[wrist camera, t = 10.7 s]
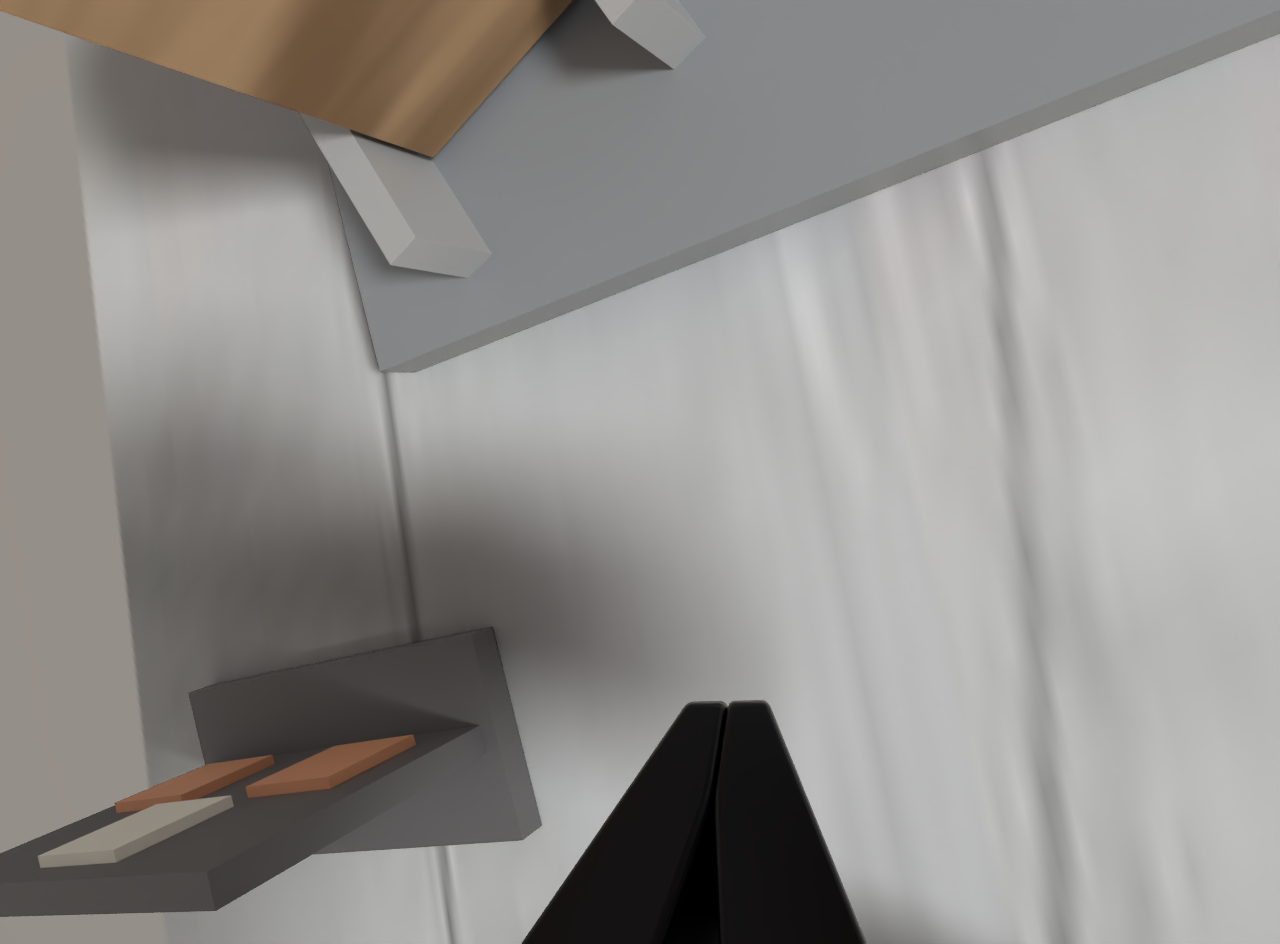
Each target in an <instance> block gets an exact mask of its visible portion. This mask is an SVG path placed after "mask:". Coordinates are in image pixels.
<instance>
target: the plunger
mask: <svg viewBox="0 0 1280 944" xmlns="http://www.w3.org/2000/svg"><path fill="white" fill-rule="evenodd" d="M572 1H573V0H0V11H2V12H5V13H8V14H11V15H14V16H17V17H20V18H23V19H25V20H28V21H31V22H34V23H37V24H40V25H43V26H46V27H49V28H52V29H55V30H58V31H61V32H64V33H67V34H70V35H73V36H76V37H79V38H82V39H84V40H87V41H90V42H93V43H96V44H99V45H102V46H105V47H108V48H111V49H114V50H117V51H120V52H123V53H126V54H129V55H132V56H135V57H138V58H141V59H144V60H147V61H149V62H152V63H155V64H158V65H161V66H164V67H167V68H170V69H173V70H176V71H179V72H182V73H185V74H188V75H191V76H194V77H197V78H200V79H203V80H206V81H209V82H212V83H214V84H217V85H220V86H223V87H226V88H229V89H232V90H235V91H238V92H241V93H244V94H247V95H250V96H253V97H256V98H259V99H262V100H265V101H268V102H271V103H274V104H276V105H279V106H282V107H285V108H288V109H291V110H294V111H297V112H300V113H303V114H306V115H309V116H312V117H315V118H318V119H321V120H324V121H327V122H330V123H333V124H336V125H339V126H341V127H344V128H347V129H350V130H353V131H356V132H359V133H362V134H365V135H368V136H371V137H374V138H377V139H380V140H383V141H386V142H389V143H392V144H395V145H398V146H401V147H403V148H406V149H409V150H412V151H415V152H418V153H421V154H424V155H427V156H430V157H434V156H435V155H436V154H437V153H438V152H439V151H440V149H441V148H442V147H443V146H444V145H445V144H446V143H447V142H448V140H449V139H450V138H451V137H452V136H453V135H454V134H455V133H456V131H457V130H458V129H459V128H460V127H461V126H462V125H463V124H464V122H465V121H466V120H467V119H468V118H469V117H470V116H471V115H472V113H473V112H474V111H475V110H476V109H477V108H478V107H479V106H480V104H481V103H482V102H483V101H484V100H485V99H486V98H487V96H488V95H489V94H490V93H491V92H492V91H493V90H494V89H495V87H496V86H497V85H498V84H499V83H500V82H501V81H502V80H503V78H504V77H505V76H506V75H507V74H508V73H509V72H510V71H511V69H512V68H513V67H514V66H515V65H516V64H517V63H518V62H519V60H520V59H521V58H522V57H523V56H524V55H525V54H526V52H527V51H528V50H529V49H530V48H531V47H532V46H533V45H534V43H535V42H536V41H537V40H538V39H539V38H540V37H541V36H542V34H543V33H544V32H545V31H546V30H547V29H548V28H549V27H550V25H551V24H552V23H553V22H554V21H555V20H556V19H557V18H558V16H559V15H560V14H561V13H562V12H563V11H564V10H565V8H566V7H567V6H568V5H569V4H570V3H571V2H572Z"/></svg>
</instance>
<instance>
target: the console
mask: <svg viewBox="0 0 1280 944" xmlns="http://www.w3.org/2000/svg"><path fill="white" fill-rule="evenodd" d="M1279 33H1280V0H573V1H572V2H571V3H570V4H569V5H568V6H567V7H566V8H565V10H564V11H563V12H562V13H561V14H560V15H559V16H558V18H557V19H556V20H555V21H554V22H553V23H552V24H551V25H550V27H549V28H548V29H547V30H546V31H545V32H544V33H543V34H542V36H541V37H540V38H539V39H538V40H537V41H536V42H535V43H534V45H533V46H532V47H531V48H530V49H529V50H528V51H527V52H526V54H525V55H524V56H523V57H522V58H521V59H520V60H519V62H518V63H517V64H516V65H515V66H514V67H513V68H512V69H511V71H510V72H509V73H508V74H507V75H506V76H505V77H504V78H503V80H502V81H501V82H500V83H499V84H498V85H497V86H496V87H495V89H494V90H493V91H492V92H491V93H490V94H489V95H488V96H487V98H486V99H485V100H484V101H483V102H482V103H481V104H480V106H479V107H478V108H477V109H476V110H475V111H474V112H473V113H472V115H471V116H470V117H469V118H468V119H467V120H466V121H465V122H464V124H463V125H462V126H461V127H460V128H459V129H458V130H457V131H456V133H455V134H454V135H453V136H452V137H451V138H450V139H449V140H448V142H447V143H446V144H445V145H444V146H443V147H442V148H441V149H440V151H439V152H438V153H437V154H436V155H435V156H434V157H430V156H427V155H424V154H421V153H418V152H415V151H412V150H409V149H406V148H403V147H401V146H398V145H395V144H392V143H389V142H386V141H383V140H380V139H377V138H374V137H371V136H368V135H365V134H362V133H359V132H356V131H353V130H350V129H347V128H344V127H341V126H339V125H336V124H333V123H330V122H327V121H324V120H321V119H318V118H315V117H312V116H309V115H306V114H303V113H300V112H298V113H299V115H300V116H301V118H302V120H303V121H304V123H305V125H306V126H307V128H308V130H309V131H310V133H311V135H312V136H313V138H314V140H315V141H316V143H317V145H318V146H319V148H320V149H321V151H322V153H323V154H324V156H325V158H326V159H327V161H328V165H329V169H330V173H331V177H332V181H333V185H334V189H335V193H336V197H337V201H338V205H339V209H340V213H341V217H342V221H343V225H344V229H345V233H346V237H347V241H348V245H349V250H350V254H351V258H352V262H353V266H354V270H355V274H356V278H357V282H358V286H359V290H360V294H361V298H362V302H363V306H364V310H365V314H366V318H367V322H368V326H369V330H370V334H371V338H372V342H373V346H374V350H375V354H376V358H377V362H378V366H379V370H380V372H417V371H420V370H422V369H425V368H427V367H430V366H433V365H435V364H438V363H440V362H443V361H445V360H448V359H450V358H453V357H456V356H458V355H461V354H463V353H466V352H468V351H471V350H473V349H476V348H478V347H481V346H484V345H486V344H489V343H491V342H494V341H496V340H499V339H501V338H504V337H507V336H509V335H512V334H514V333H517V332H519V331H522V330H524V329H527V328H529V327H532V326H535V325H537V324H540V323H542V322H545V321H547V320H550V319H552V318H555V317H558V316H560V315H563V314H565V313H568V312H570V311H573V310H575V309H578V308H581V307H583V306H586V305H588V304H591V303H593V302H596V301H598V300H601V299H603V298H606V297H609V296H611V295H614V294H616V293H619V292H621V291H624V290H626V289H629V288H632V287H634V286H637V285H639V284H642V283H644V282H647V281H649V280H652V279H654V278H657V277H660V276H662V275H665V274H667V273H670V272H672V271H675V270H677V269H680V268H683V267H685V266H688V265H690V264H693V263H695V262H698V261H700V260H703V259H705V258H708V257H711V256H713V255H716V254H718V253H721V252H723V251H726V250H728V249H731V248H734V247H736V246H739V245H741V244H744V243H746V242H749V241H751V240H754V239H757V238H759V237H762V236H764V235H767V234H769V233H772V232H774V231H777V230H779V229H782V228H785V227H787V226H790V225H792V224H795V223H797V222H800V221H802V220H805V219H808V218H810V217H813V216H815V215H818V214H820V213H823V212H825V211H828V210H830V209H833V208H836V207H838V206H841V205H843V204H846V203H848V202H851V201H853V200H856V199H859V198H861V197H864V196H866V195H869V194H871V193H874V192H876V191H879V190H881V189H884V188H887V187H889V186H892V185H894V184H897V183H899V182H902V181H904V180H907V179H910V178H912V177H915V176H917V175H920V174H922V173H925V172H927V171H930V170H932V169H935V168H938V167H940V166H943V165H945V164H948V163H950V162H953V161H955V160H958V159H961V158H963V157H966V156H968V155H971V154H973V153H976V152H978V151H981V150H984V149H986V148H989V147H991V146H994V145H996V144H999V143H1001V142H1004V141H1006V140H1009V139H1012V138H1014V137H1017V136H1019V135H1022V134H1024V133H1027V132H1029V131H1032V130H1035V129H1037V128H1040V127H1042V126H1045V125H1047V124H1050V123H1052V122H1055V121H1057V120H1060V119H1063V118H1065V117H1068V116H1070V115H1073V114H1075V113H1078V112H1080V111H1083V110H1086V109H1088V108H1091V107H1093V106H1096V105H1098V104H1101V103H1103V102H1106V101H1108V100H1111V99H1114V98H1116V97H1119V96H1121V95H1124V94H1126V93H1129V92H1131V91H1134V90H1137V89H1139V88H1142V87H1144V86H1147V85H1149V84H1152V83H1154V82H1157V81H1160V80H1162V79H1165V78H1167V77H1170V76H1172V75H1175V74H1177V73H1180V72H1182V71H1185V70H1188V69H1190V68H1193V67H1195V66H1198V65H1200V64H1203V63H1205V62H1208V61H1211V60H1213V59H1216V58H1218V57H1221V56H1223V55H1226V54H1228V53H1231V52H1233V51H1236V50H1239V49H1241V48H1244V47H1246V46H1249V45H1251V44H1254V43H1256V42H1259V41H1262V40H1264V39H1267V38H1269V37H1272V36H1274V35H1277V34H1279Z"/></svg>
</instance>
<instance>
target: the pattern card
mask: <svg viewBox="0 0 1280 944" xmlns="http://www.w3.org/2000/svg"><path fill="white" fill-rule="evenodd" d="M189 697H190V702H191V706H192V710H193V714H194V719H195V723H196V727H197V731H198V736H199V740H200V744H201V748H202V752H203V757H204V761H205V766H202V767H200V768H197V769H195V770H193V771H190V772H188V773H186V774H183V775H181V776H178V777H176V778H174V779H171V780H169V781H166V782H164V783H162V784H159V785H157V786H154V787H152V788H150V789H147V790H145V791H142V792H140V793H138V794H135V795H133V796H130V797H128V798H126V799H123V800H121V801H118V802H116V803H115V806H113V807H110V808H108V809H105V810H103V811H101V812H98V813H96V814H94V815H91V816H89V817H86V818H84V819H82V820H79V821H77V822H74V823H72V824H70V825H67V826H65V827H63V828H60V829H58V830H56V831H53V832H51V833H48V834H46V835H43V836H41V837H39V838H36V839H34V840H31V841H29V842H27V843H24V844H22V845H20V846H17V847H15V848H12V849H10V850H8V851H5V852H3V853H1V854H0V917H8V916H43V915H80V914H117V913H153V912H189V911H216V910H218V909H220V908H221V907H223V906H225V905H226V904H228V903H230V902H232V901H233V900H235V899H237V898H238V897H240V896H242V895H244V894H245V893H247V892H249V891H250V890H252V889H254V888H256V887H257V886H259V885H261V884H262V883H264V882H266V881H268V880H269V879H271V878H273V877H274V876H276V875H278V874H280V873H281V872H283V871H285V870H286V869H288V868H290V867H292V866H293V865H295V864H297V863H298V862H300V861H302V860H304V859H305V858H307V857H309V856H310V855H312V854H326V853H341V852H355V851H370V850H385V849H400V848H415V847H430V846H445V845H460V844H474V843H489V842H504V841H519V840H523V839H525V838H526V837H527V836H529V835H530V834H531V833H533V832H534V831H535V830H536V829H538V828H539V827H540V826H542V824H541V820H540V816H539V812H538V808H537V804H536V800H535V796H534V792H533V788H532V784H531V780H530V776H529V772H528V768H527V764H526V760H525V756H524V752H523V748H522V744H521V740H520V736H519V732H518V728H517V724H516V720H515V716H514V712H513V708H512V704H511V700H510V696H509V692H508V688H507V684H506V680H505V676H504V672H503V668H502V664H501V660H500V656H499V652H498V648H497V644H496V640H495V636H494V632H493V628H492V627H489V628H484V629H480V630H475V631H470V632H465V633H460V634H455V635H451V636H446V637H441V638H436V639H431V640H426V641H422V642H417V643H412V644H407V645H402V646H398V647H393V648H388V649H383V650H378V651H373V652H369V653H364V654H359V655H354V656H349V657H344V658H340V659H335V660H330V661H325V662H320V663H315V664H311V665H306V666H301V667H296V668H291V669H286V670H282V671H277V672H272V673H267V674H262V675H258V676H253V677H248V678H243V679H238V680H233V681H229V682H224V683H219V684H214V685H211V686H208V687H205V688H202V689H199V690H196V691H193V692H190V693H189Z"/></svg>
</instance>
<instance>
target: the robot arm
mask: <svg viewBox="0 0 1280 944" xmlns="http://www.w3.org/2000/svg"><path fill="white" fill-rule="evenodd" d="M522 944H867V943H866V941H865V938H864V936H863V933H862V931H861V929H860V926H859V924H858V921H857V919H856V916H855V914H854V911H853V909H852V906H851V904H850V902H849V899H848V897H847V894H846V892H845V889H844V887H843V884H842V882H841V879H840V877H839V874H838V872H837V870H836V867H835V865H834V862H833V860H832V857H831V855H830V852H829V850H828V847H827V845H826V842H825V840H824V838H823V835H822V833H821V830H820V828H819V825H818V823H817V820H816V818H815V815H814V813H813V810H812V808H811V806H810V803H809V801H808V798H807V796H806V793H805V791H804V788H803V786H802V783H801V781H800V778H799V776H798V774H797V771H796V769H795V766H794V764H793V761H792V759H791V756H790V754H789V751H788V749H787V747H786V744H785V742H784V739H783V737H782V734H781V732H780V729H779V727H778V724H777V722H776V719H775V717H774V715H773V712H772V710H771V707H770V705H769V704H768V703H767V702H766V701H763V700H752V701H732V702H731V703H730V704H729V706H727V704H726V703H724V702H722V701H700V702H690V703H688V704H687V705H686V706H685V707H684V708H683V709H682V711H681V712H680V714H679V715H678V717H677V718H676V720H675V721H674V723H673V724H672V725H671V727H670V728H669V730H668V731H667V733H666V734H665V736H664V737H663V739H662V740H661V741H660V743H659V744H658V746H657V747H656V749H655V750H654V752H653V753H652V755H651V756H650V757H649V759H648V760H647V762H646V763H645V765H644V766H643V768H642V769H641V771H640V772H639V773H638V775H637V776H636V778H635V779H634V781H633V782H632V784H631V785H630V787H629V788H628V789H627V791H626V792H625V794H624V795H623V797H622V798H621V800H620V801H619V803H618V804H617V805H616V807H615V808H614V810H613V811H612V813H611V814H610V816H609V817H608V819H607V820H606V821H605V823H604V824H603V826H602V827H601V829H600V830H599V832H598V833H597V835H596V836H595V837H594V839H593V840H592V842H591V843H590V845H589V846H588V848H587V849H586V851H585V852H584V853H583V855H582V856H581V858H580V859H579V861H578V862H577V864H576V865H575V867H574V868H573V869H572V871H571V872H570V874H569V875H568V877H567V878H566V880H565V881H564V883H563V884H562V885H561V887H560V888H559V890H558V891H557V893H556V894H555V896H554V897H553V899H552V900H551V901H550V903H549V904H548V906H547V907H546V909H545V910H544V912H543V913H542V915H541V916H540V917H539V919H538V920H537V922H536V923H535V925H534V926H533V928H532V929H531V931H530V932H529V933H528V935H527V936H526V938H525V939H524V941H523V942H522Z"/></svg>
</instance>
